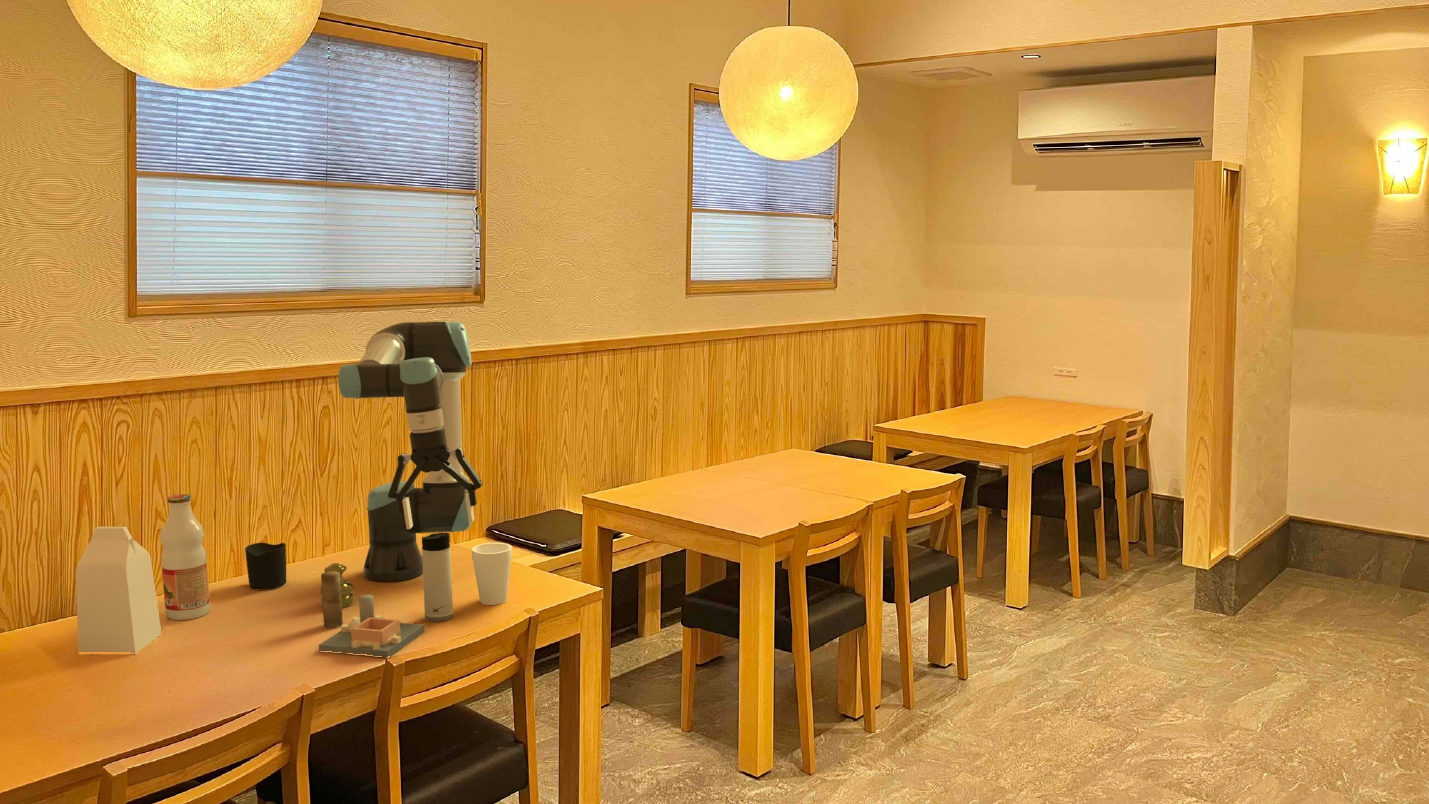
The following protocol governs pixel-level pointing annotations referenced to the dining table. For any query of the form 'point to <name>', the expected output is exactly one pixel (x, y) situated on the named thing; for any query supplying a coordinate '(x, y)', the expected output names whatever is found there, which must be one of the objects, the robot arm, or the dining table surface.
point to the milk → (115, 594)
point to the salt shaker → (345, 586)
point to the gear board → (372, 633)
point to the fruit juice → (184, 562)
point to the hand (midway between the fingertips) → (440, 524)
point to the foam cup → (492, 571)
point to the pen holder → (266, 565)
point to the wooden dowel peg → (331, 599)
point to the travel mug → (437, 577)
